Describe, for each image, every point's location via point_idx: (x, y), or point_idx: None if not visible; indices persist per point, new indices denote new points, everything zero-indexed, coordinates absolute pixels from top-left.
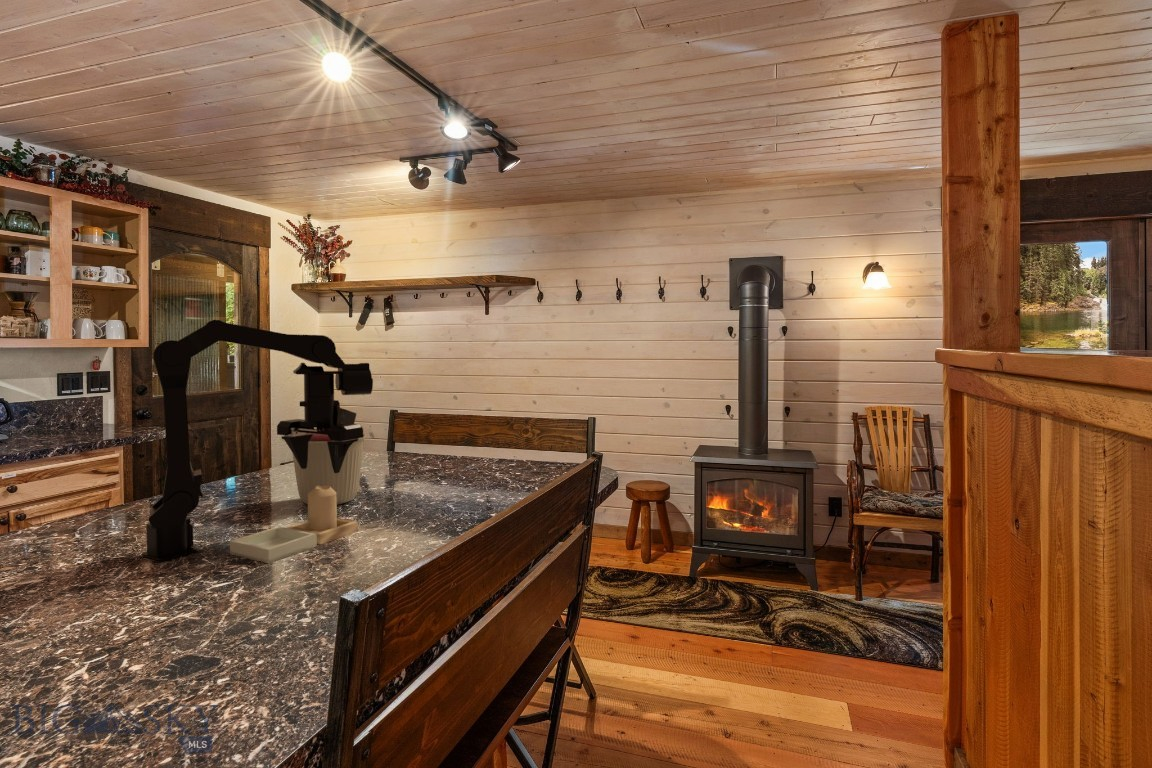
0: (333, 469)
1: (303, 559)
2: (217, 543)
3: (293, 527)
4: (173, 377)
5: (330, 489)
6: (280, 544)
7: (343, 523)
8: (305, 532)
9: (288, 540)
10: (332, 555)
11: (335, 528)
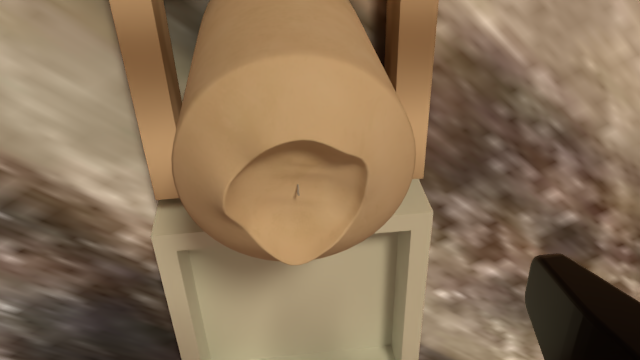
0: (550, 354)
1: (482, 277)
2: (18, 343)
3: None
4: None
5: (375, 159)
6: (404, 346)
7: None
8: None
9: None
10: (558, 205)
11: (416, 72)
